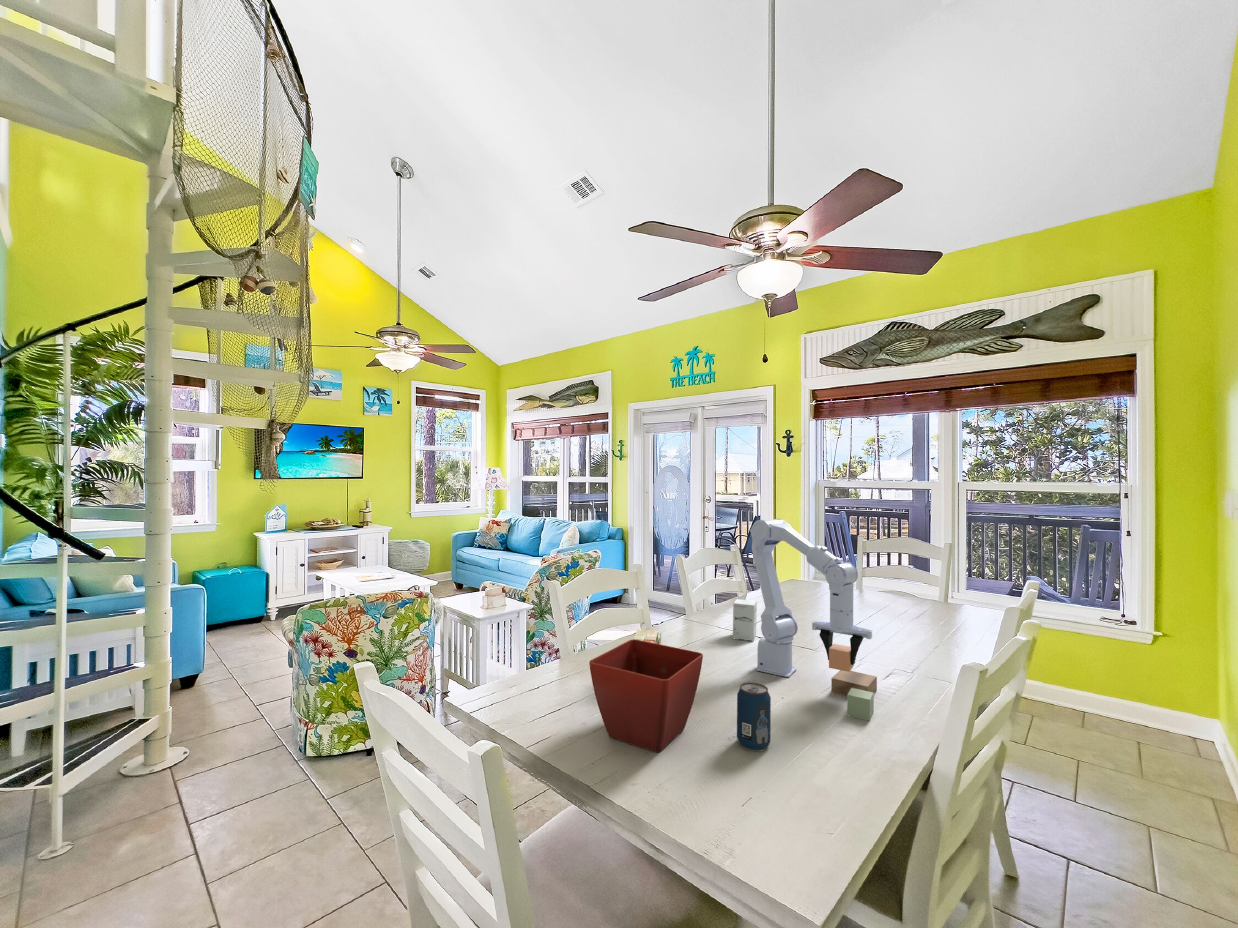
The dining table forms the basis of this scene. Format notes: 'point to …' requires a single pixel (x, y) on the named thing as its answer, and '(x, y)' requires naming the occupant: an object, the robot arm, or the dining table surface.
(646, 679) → the plant pot
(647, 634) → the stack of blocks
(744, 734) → the soda can
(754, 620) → the supplement box
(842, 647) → the terracotta cube
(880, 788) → the dining table surface
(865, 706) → the green cube
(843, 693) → the walnut block
